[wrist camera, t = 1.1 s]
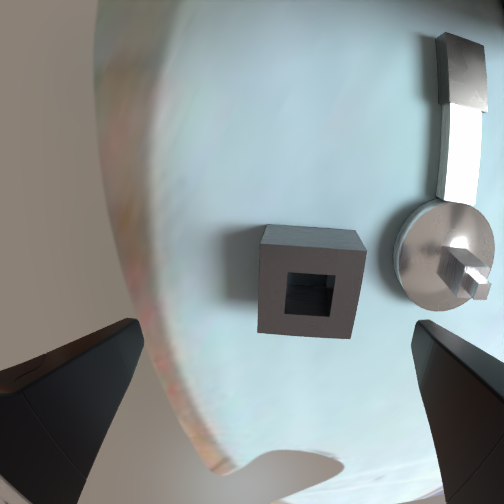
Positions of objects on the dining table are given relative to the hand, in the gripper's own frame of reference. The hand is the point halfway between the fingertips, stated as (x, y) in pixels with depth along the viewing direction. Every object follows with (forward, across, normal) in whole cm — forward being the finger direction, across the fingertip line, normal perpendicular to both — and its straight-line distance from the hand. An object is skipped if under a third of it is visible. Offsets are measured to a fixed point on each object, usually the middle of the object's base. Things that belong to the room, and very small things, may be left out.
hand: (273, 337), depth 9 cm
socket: (+13, -1, +3) cm, 13 cm away
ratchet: (+12, -12, -4) cm, 18 cm away
